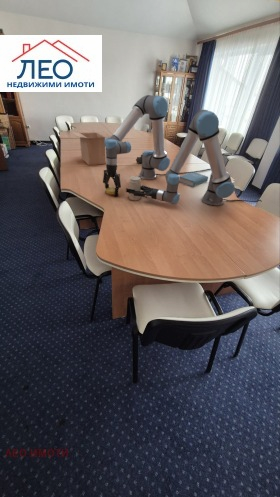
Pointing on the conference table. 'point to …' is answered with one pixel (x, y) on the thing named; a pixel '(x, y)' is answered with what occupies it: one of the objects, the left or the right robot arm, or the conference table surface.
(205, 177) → the book
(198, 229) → the conference table surface
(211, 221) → the conference table surface
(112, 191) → the lid
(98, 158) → the box
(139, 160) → the laser sight
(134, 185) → the jar
